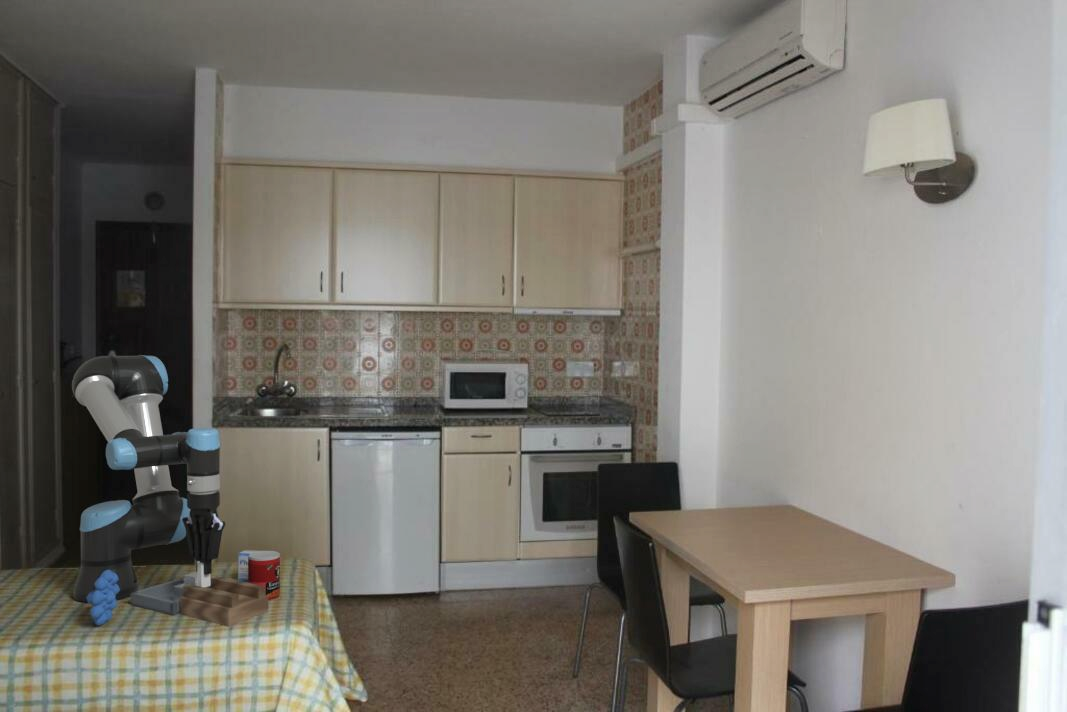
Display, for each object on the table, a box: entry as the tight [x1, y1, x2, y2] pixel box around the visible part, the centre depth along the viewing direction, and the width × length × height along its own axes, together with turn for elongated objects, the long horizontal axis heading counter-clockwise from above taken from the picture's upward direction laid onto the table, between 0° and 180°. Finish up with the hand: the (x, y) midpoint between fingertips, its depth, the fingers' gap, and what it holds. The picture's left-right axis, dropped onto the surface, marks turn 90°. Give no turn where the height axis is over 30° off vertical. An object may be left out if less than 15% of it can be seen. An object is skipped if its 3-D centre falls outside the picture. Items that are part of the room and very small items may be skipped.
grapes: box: [86, 570, 120, 626], centre depth 198 cm, size 12×7×12 cm, turn 4°
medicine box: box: [237, 549, 259, 583], centre depth 230 cm, size 8×4×9 cm, turn 77°
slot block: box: [179, 575, 269, 627], centre depth 205 cm, size 17×12×6 cm
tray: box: [130, 577, 211, 616], centre depth 214 cm, size 16×15×3 cm
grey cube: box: [183, 571, 209, 588], centre depth 210 cm, size 4×4×4 cm
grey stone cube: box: [173, 583, 184, 601], centre depth 212 cm, size 4×4×4 cm
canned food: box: [248, 550, 281, 601], centre depth 218 cm, size 8×8×11 cm
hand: (203, 586), depth 209 cm, fingers closed
